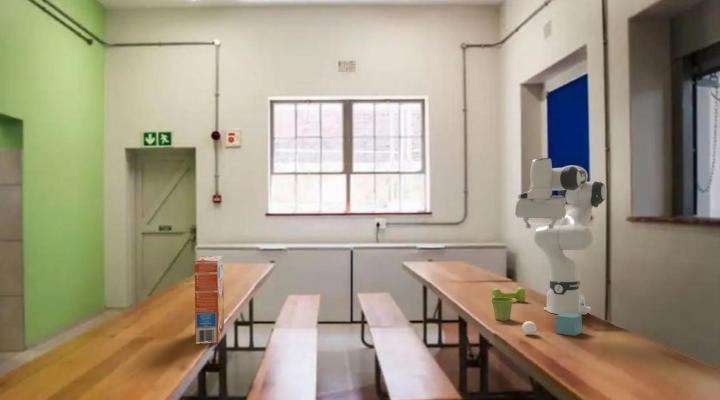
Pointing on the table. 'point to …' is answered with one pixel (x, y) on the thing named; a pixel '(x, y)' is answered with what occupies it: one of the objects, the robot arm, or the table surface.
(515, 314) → the table surface
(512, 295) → the dumbbell
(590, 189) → the robot arm
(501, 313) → the plant pot
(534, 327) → the ball
